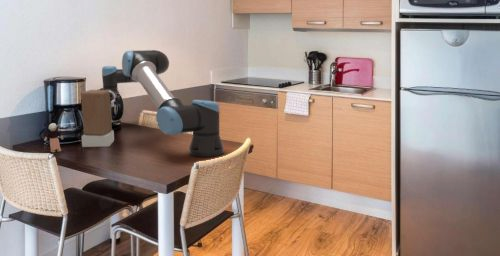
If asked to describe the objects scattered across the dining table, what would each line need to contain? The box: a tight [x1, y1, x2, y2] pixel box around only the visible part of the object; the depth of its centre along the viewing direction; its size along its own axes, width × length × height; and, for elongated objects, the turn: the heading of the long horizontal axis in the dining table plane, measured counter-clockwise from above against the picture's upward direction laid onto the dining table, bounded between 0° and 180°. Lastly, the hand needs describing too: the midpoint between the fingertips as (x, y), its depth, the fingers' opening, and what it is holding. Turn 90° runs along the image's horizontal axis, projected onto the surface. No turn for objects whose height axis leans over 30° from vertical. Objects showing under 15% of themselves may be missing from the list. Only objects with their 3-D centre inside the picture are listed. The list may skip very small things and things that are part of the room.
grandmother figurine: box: [43, 122, 64, 153], centre depth 197 cm, size 8×4×13 cm, turn 135°
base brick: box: [81, 129, 115, 148], centre depth 212 cm, size 12×12×5 cm
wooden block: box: [80, 89, 113, 135], centre depth 210 cm, size 10×10×20 cm
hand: (97, 104), depth 213 cm, fingers open, 13 cm apart
